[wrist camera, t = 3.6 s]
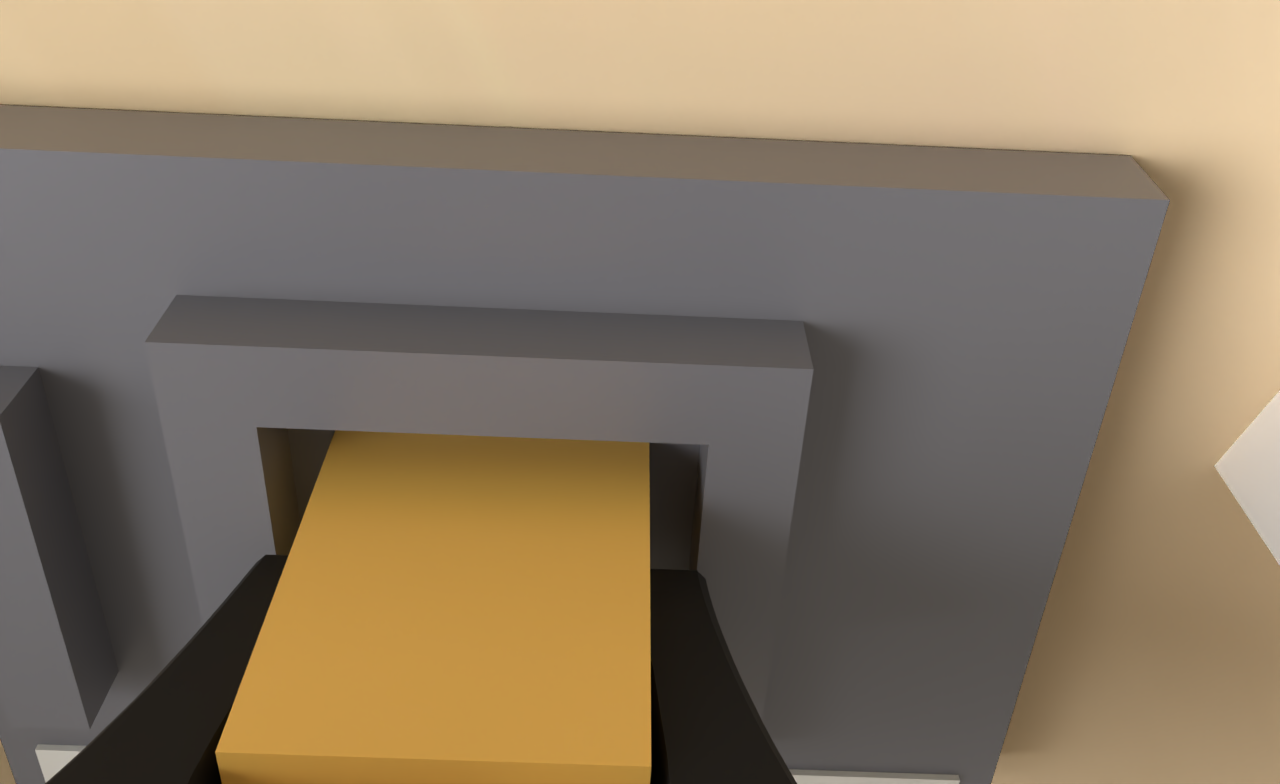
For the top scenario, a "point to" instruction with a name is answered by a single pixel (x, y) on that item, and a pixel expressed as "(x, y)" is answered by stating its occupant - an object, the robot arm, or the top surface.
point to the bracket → (1258, 473)
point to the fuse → (457, 619)
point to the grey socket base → (564, 386)
